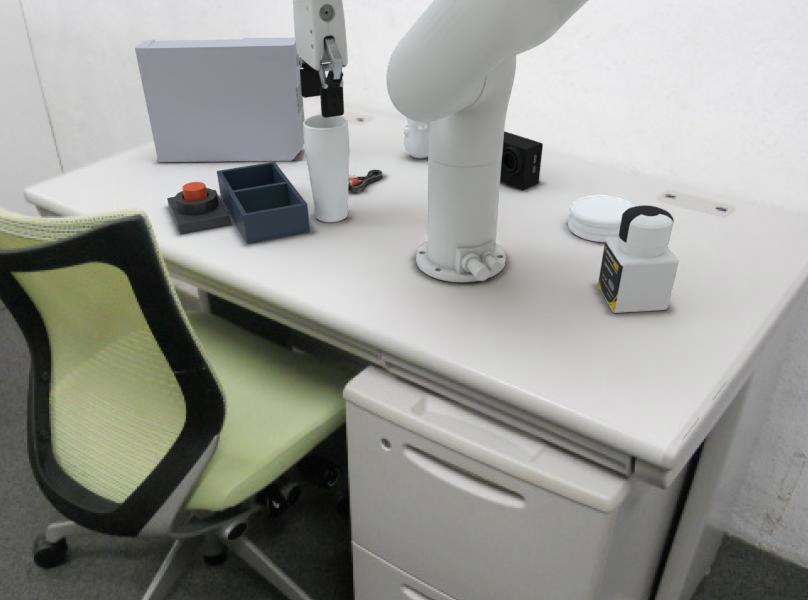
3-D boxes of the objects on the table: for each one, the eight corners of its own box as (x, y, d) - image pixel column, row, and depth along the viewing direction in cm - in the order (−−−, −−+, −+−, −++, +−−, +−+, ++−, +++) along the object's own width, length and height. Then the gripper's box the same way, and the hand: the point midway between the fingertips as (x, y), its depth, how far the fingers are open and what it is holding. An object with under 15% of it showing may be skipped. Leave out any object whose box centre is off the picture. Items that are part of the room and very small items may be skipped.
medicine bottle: (596, 286, 104) (610, 201, 97) (649, 283, 104) (667, 198, 97) (612, 314, 98) (629, 226, 91) (668, 310, 99) (689, 223, 91)
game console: (165, 151, 148) (143, 39, 136) (307, 150, 147) (297, 36, 135) (157, 162, 144) (134, 47, 132) (303, 161, 143) (293, 45, 130)
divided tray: (310, 232, 119) (307, 204, 116) (247, 244, 116) (242, 215, 114) (277, 187, 133) (274, 161, 130) (220, 197, 131) (216, 170, 128)
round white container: (644, 223, 118) (649, 202, 116) (621, 249, 112) (625, 227, 110) (582, 209, 123) (585, 188, 121) (556, 233, 117) (559, 211, 114)
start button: (209, 200, 122) (207, 188, 121) (186, 204, 121) (184, 192, 120) (205, 191, 125) (203, 180, 124) (182, 195, 124) (180, 183, 123)
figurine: (393, 156, 143) (392, 89, 136) (419, 147, 147) (419, 81, 139) (420, 166, 139) (420, 97, 132) (446, 156, 143) (448, 88, 135)
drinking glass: (347, 227, 120) (342, 130, 111) (305, 224, 121) (296, 128, 112) (357, 209, 125) (352, 114, 116) (316, 206, 127) (309, 112, 117)
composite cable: (376, 173, 137) (376, 159, 136) (394, 181, 134) (394, 167, 133) (332, 188, 132) (331, 174, 131) (349, 197, 129) (348, 182, 128)
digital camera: (471, 175, 135) (473, 135, 131) (492, 167, 138) (495, 127, 134) (517, 192, 129) (521, 151, 125) (538, 183, 132) (543, 142, 127)
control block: (231, 225, 122) (227, 204, 120) (180, 234, 120) (175, 213, 118) (216, 199, 130) (213, 179, 128) (168, 207, 128) (164, 187, 126)
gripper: (363, -18, 97) (367, 120, 108) (321, -40, 110) (328, 86, 120) (305, -13, 95) (315, 128, 106) (269, -36, 108) (281, 92, 118)
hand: (322, 105), depth 113 cm, fingers open, 9 cm apart
